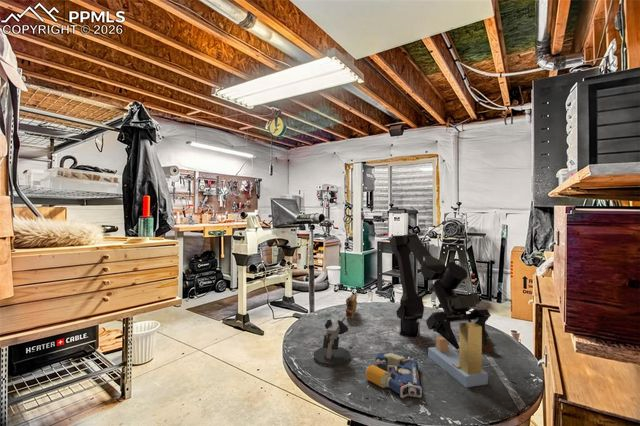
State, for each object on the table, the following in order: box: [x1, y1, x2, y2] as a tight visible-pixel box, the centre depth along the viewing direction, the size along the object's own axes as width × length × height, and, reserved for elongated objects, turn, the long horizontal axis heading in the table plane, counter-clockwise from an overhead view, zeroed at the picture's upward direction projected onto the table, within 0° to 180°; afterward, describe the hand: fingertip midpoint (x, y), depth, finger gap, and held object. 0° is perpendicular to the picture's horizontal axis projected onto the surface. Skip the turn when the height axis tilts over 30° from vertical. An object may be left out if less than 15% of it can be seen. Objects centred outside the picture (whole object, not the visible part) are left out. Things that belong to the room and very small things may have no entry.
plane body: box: [427, 335, 489, 388], centre depth 93 cm, size 18×7×7 cm, turn 13°
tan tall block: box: [458, 321, 483, 375], centre depth 87 cm, size 4×4×13 cm
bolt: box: [482, 329, 494, 354], centre depth 111 cm, size 6×5×15 cm
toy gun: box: [365, 351, 423, 399], centre depth 89 cm, size 21×4×15 cm
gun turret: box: [313, 315, 351, 368], centre depth 104 cm, size 13×20×13 cm, turn 161°
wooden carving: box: [345, 293, 358, 319], centre depth 139 cm, size 16×5×10 cm, turn 169°
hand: (472, 347), depth 86 cm, fingers open, 9 cm apart
